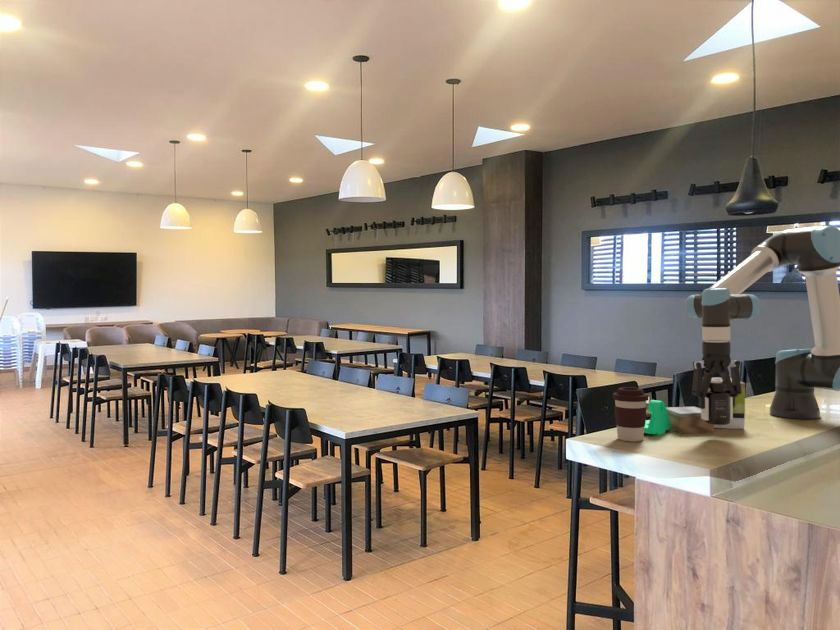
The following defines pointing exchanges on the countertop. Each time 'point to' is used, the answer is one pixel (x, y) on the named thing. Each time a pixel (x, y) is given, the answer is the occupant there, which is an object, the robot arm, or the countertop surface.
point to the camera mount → (657, 418)
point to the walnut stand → (688, 420)
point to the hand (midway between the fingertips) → (716, 418)
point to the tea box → (735, 409)
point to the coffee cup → (630, 413)
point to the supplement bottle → (719, 403)
